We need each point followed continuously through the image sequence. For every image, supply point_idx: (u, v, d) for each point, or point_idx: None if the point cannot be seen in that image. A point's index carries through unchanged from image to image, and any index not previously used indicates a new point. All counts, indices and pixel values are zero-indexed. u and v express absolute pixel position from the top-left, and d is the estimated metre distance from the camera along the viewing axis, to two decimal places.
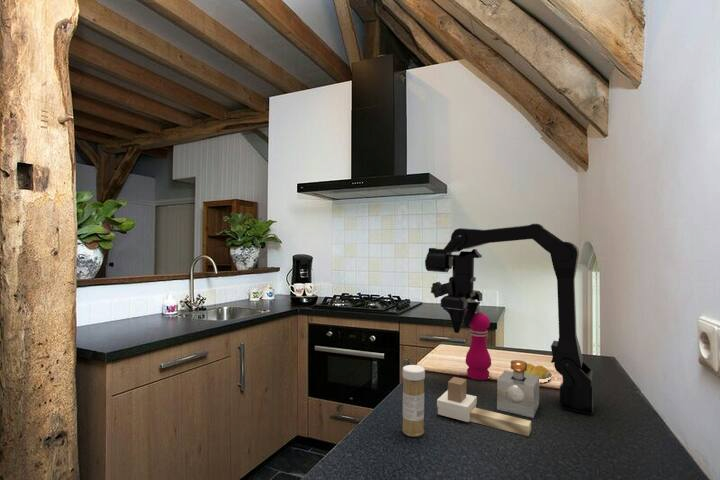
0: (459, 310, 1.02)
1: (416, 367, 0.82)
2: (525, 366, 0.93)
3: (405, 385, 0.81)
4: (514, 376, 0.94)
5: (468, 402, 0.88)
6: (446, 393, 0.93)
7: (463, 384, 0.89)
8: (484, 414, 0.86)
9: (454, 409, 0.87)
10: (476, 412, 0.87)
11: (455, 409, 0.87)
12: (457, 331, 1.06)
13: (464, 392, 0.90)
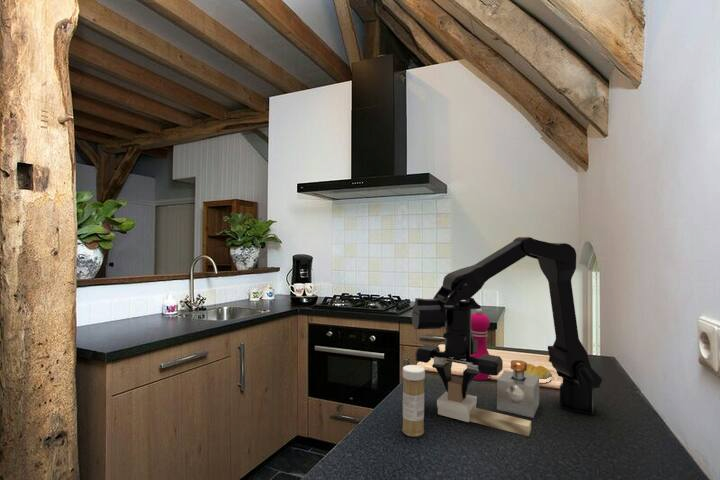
0: None
1: (416, 367, 0.82)
2: (525, 366, 0.93)
3: (405, 385, 0.81)
4: (514, 376, 0.94)
5: (468, 402, 0.88)
6: (446, 393, 0.93)
7: None
8: (484, 414, 0.86)
9: (454, 409, 0.87)
10: (476, 412, 0.87)
11: (455, 409, 0.87)
12: None
13: None
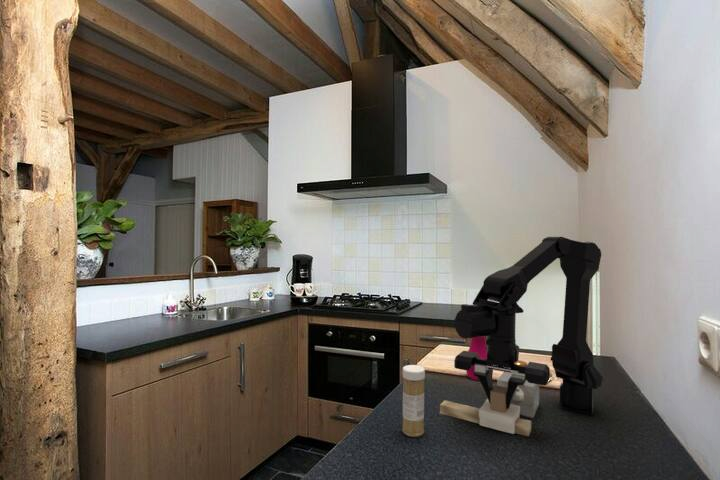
0: None
1: (416, 367, 0.82)
2: None
3: (405, 385, 0.81)
4: None
5: (512, 413, 0.83)
6: (487, 402, 0.88)
7: (506, 393, 0.84)
8: None
9: (498, 420, 0.82)
10: (476, 412, 0.87)
11: (499, 420, 0.82)
12: None
13: None
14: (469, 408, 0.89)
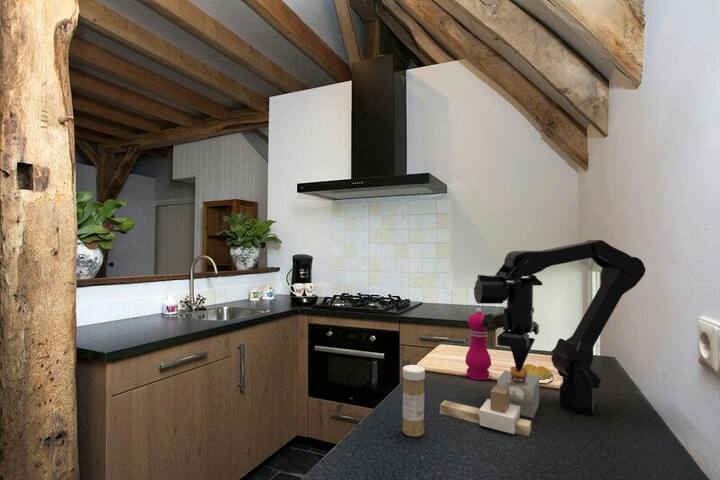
0: None
1: (416, 367, 0.82)
2: (525, 373, 0.93)
3: (405, 385, 0.81)
4: None
5: (512, 413, 0.83)
6: (487, 402, 0.88)
7: (507, 393, 0.84)
8: None
9: (498, 420, 0.82)
10: (476, 412, 0.87)
11: (499, 420, 0.82)
12: (520, 367, 0.94)
13: (507, 402, 0.85)
14: (469, 408, 0.89)
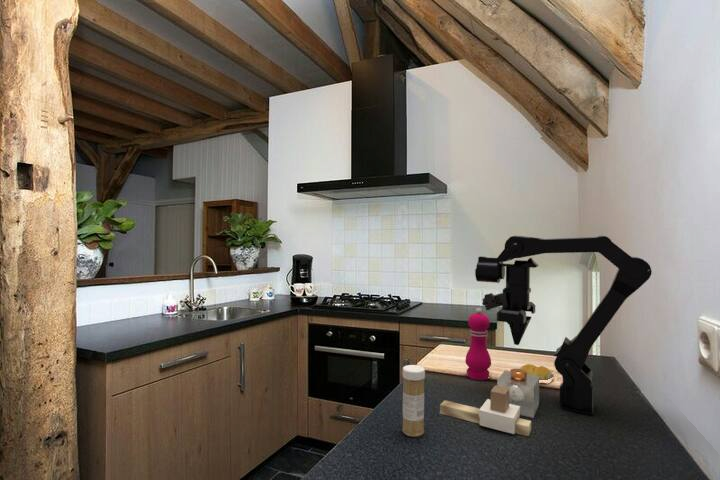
0: None
1: (416, 367, 0.82)
2: (525, 375, 0.93)
3: (405, 385, 0.81)
4: None
5: (512, 413, 0.83)
6: (487, 402, 0.88)
7: (507, 393, 0.84)
8: None
9: (498, 420, 0.82)
10: (476, 412, 0.87)
11: (499, 420, 0.82)
12: (517, 343, 1.02)
13: (507, 402, 0.85)
14: (469, 408, 0.89)
